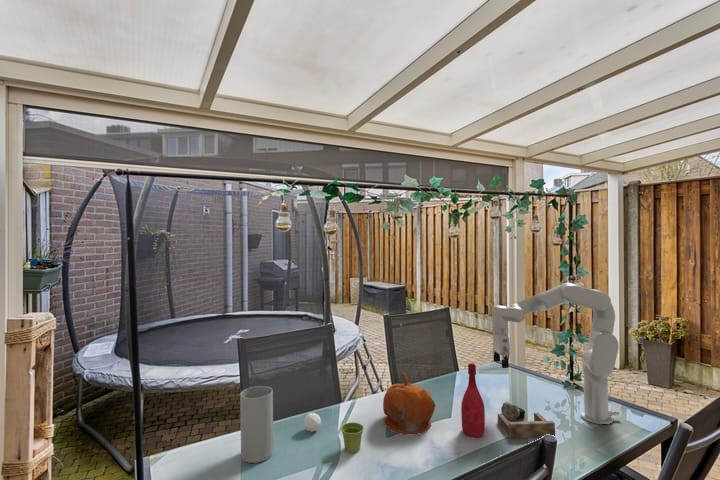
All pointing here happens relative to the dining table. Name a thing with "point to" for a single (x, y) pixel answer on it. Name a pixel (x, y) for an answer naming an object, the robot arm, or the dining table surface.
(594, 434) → the dining table surface
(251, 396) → the cylinder vase
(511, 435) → the brown wooden frame
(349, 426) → the plant pot
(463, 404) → the wine bottle
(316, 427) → the geometric ball
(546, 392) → the dining table surface
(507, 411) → the caster wheel
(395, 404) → the pumpkin
